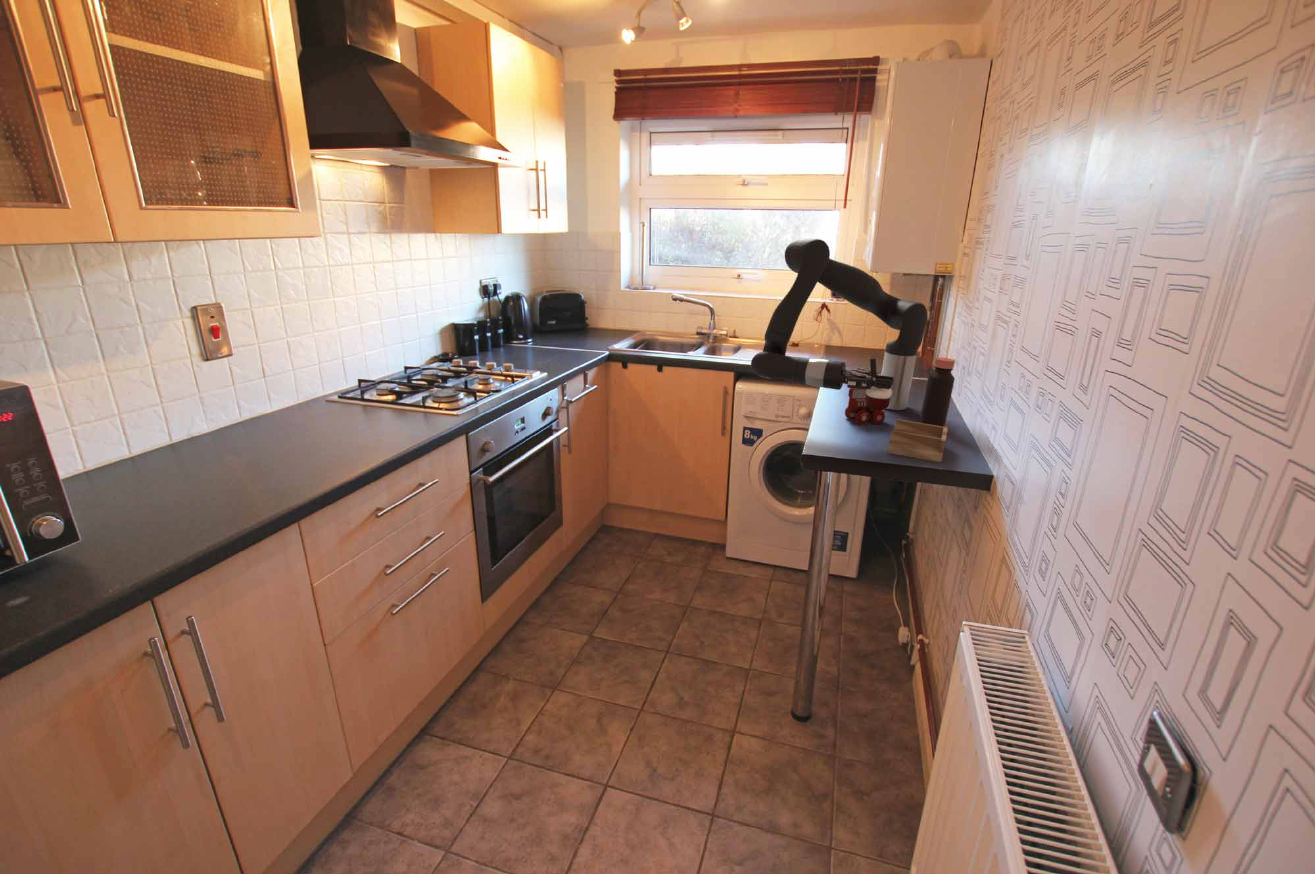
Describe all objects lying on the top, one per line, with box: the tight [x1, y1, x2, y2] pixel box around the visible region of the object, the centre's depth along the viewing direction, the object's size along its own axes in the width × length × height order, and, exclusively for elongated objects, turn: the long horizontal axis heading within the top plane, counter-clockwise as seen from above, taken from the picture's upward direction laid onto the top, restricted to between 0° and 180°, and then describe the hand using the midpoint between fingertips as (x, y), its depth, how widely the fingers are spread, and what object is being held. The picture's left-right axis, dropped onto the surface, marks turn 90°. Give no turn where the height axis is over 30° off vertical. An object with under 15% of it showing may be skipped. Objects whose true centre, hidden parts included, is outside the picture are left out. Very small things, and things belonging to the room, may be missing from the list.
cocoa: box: [865, 358, 892, 410], centre depth 158 cm, size 10×6×12 cm, turn 174°
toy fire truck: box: [844, 388, 886, 426], centre depth 177 cm, size 7×12×10 cm, turn 106°
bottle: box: [918, 357, 956, 427], centre depth 172 cm, size 7×7×20 cm
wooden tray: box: [886, 418, 949, 463], centre depth 156 cm, size 14×12×6 cm
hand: (891, 383), depth 157 cm, fingers closed on cocoa, 3 cm apart
